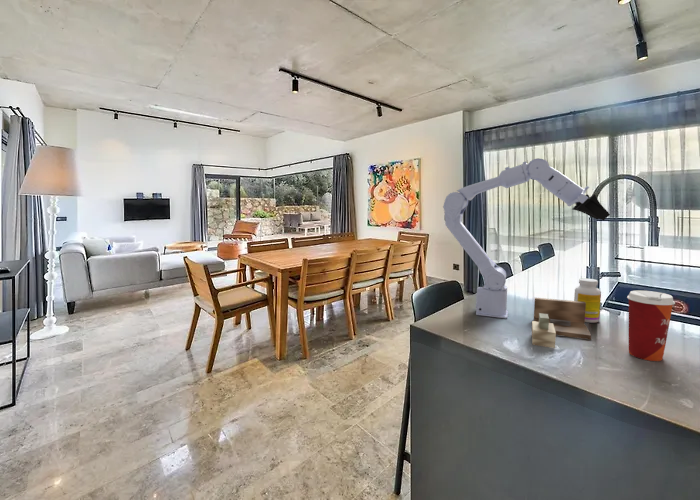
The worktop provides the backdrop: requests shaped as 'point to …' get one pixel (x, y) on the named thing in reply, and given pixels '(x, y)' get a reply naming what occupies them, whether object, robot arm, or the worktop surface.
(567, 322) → the cleat board
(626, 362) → the worktop surface
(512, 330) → the worktop surface
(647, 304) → the coffee cup
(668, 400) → the worktop surface
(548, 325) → the saddle block
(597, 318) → the supplement bottle
